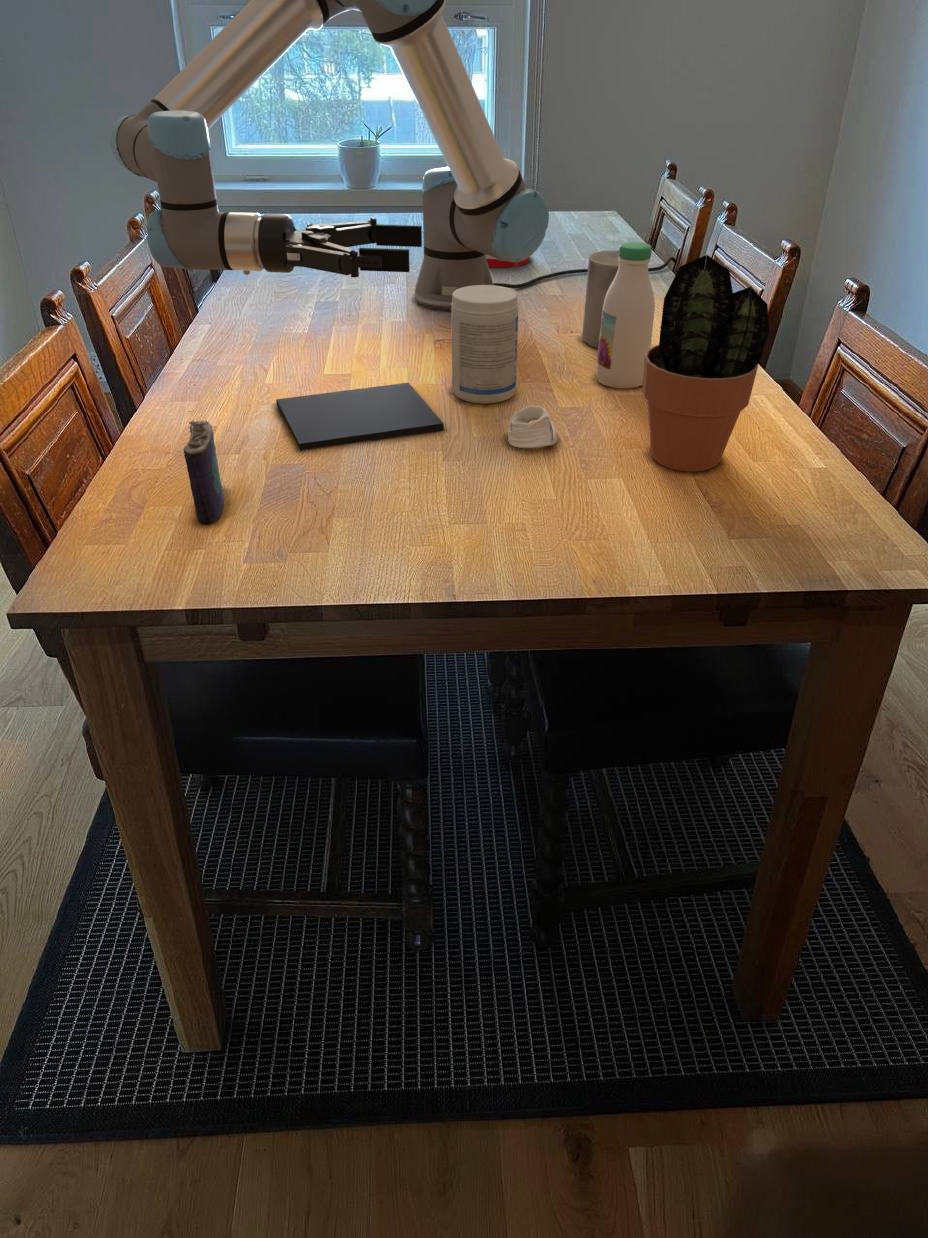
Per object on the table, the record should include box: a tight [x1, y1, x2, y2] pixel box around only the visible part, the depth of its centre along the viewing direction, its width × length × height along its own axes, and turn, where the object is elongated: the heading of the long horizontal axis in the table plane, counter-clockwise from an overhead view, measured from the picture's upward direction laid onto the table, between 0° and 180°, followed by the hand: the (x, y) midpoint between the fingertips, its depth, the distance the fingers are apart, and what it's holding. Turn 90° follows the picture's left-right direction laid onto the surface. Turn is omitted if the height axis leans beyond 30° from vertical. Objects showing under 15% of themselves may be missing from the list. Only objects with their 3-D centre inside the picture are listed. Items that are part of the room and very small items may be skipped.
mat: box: [275, 382, 444, 452], centre depth 129 cm, size 20×16×1 cm
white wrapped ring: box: [507, 405, 558, 449], centre depth 122 cm, size 8×7×5 cm
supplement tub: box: [450, 285, 519, 405], centre depth 132 cm, size 10×10×15 cm
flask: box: [183, 419, 225, 526], centre depth 104 cm, size 9×3×11 cm, turn 8°
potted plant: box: [641, 254, 770, 473], centre depth 112 cm, size 14×14×25 cm
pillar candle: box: [581, 249, 619, 349], centre depth 152 cm, size 10×10×15 cm
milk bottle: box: [595, 241, 656, 389], centre depth 136 cm, size 8×8×20 cm
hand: (415, 247), depth 125 cm, fingers open, 13 cm apart
